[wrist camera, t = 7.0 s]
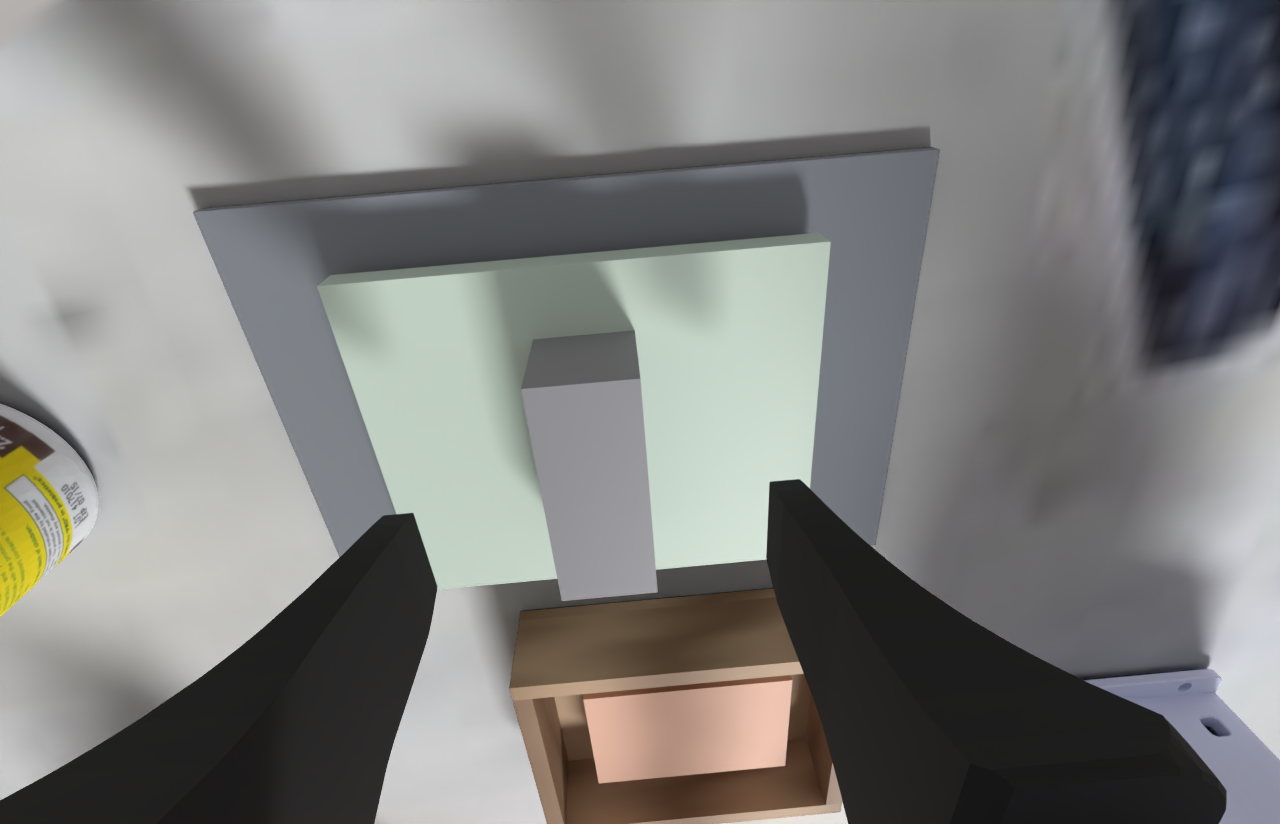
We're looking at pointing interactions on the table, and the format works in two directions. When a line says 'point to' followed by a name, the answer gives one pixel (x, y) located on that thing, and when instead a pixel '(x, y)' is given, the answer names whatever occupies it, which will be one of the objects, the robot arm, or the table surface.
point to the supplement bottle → (38, 503)
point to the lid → (589, 405)
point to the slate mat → (583, 223)
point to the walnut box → (670, 713)
